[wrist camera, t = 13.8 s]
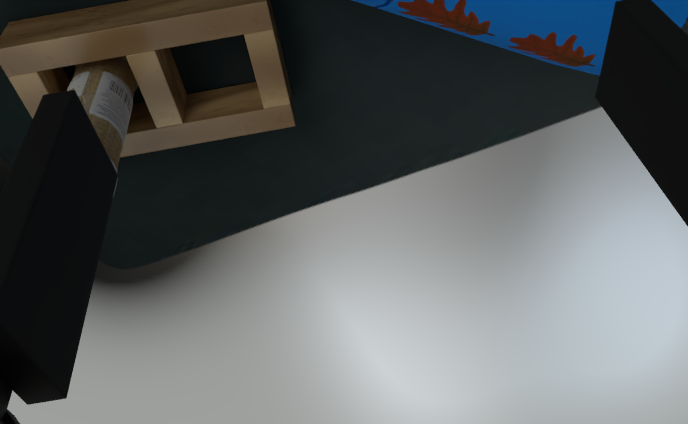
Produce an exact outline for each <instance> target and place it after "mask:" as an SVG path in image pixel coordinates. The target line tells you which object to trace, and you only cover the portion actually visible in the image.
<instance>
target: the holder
mask: <svg viewBox="0 0 688 424" xmlns="http://www.w3.org/2000/svg"><path fill="white" fill-rule="evenodd" d="M243 34H244V37H245V41H246V45H247V48H248V52H249V56H250V59H251V63H252V67H253V71H254V74H255V78H256V82H253V83H247V84H242V85H236V86H231V87H225V88H219V89H214V90H208V91H203V92H197V93H192V94H187V93H186V90H185V88H184V85H183V82H182V80H181V77H180V74H179V71H178V69H177V66H176V63H175V61H174V58H173V55H172V52H171V50H170V48H171V47H176V46H182V45H187V44H193V43H199V42H204V41H210V40H215V39H221V38H226V37H232V36H237V35H243ZM121 56H126V58H127V60H128V63H129V65H130V67H131V70H132V72H133V74H134V77H135V79H136V81H137V84H138V86H139V88H140V91H141V93H142V95H143V98H144V100H145V102H141V103H136V104H133V106H132V111H131V116H130V120H129V125H128V129H127V133H126V138H125V142H124V146H123V150H122V153H121V155H120V157H126V156H131V155H137V154H142V153H148V152H153V151H159V150H165V149H170V148H176V147H181V146H187V145H193V144H198V143H204V142H209V141H215V140H221V139H226V138H232V137H237V136H243V135H248V134H254V133H260V132H265V131H271V130H276V129H282V128H288V127H293V126H295V116H294V106H293V97H292V92H291V88H290V83H289V79H288V75H287V70H286V66H285V61H284V57H283V52H282V48H281V44H280V39H279V35H278V30H277V26H276V21H275V17H274V12H273V8H272V4H271V0H129V1H123V2H118V3H112V4H107V5H101V6H95V7H90V8H84V9H79V10H73V11H68V12H62V13H57V14H51V15H46V16H40V17H35V18H29V19H24V20H18V21H12V22H9V23H8V25H7V26H6V28H5V29H4V31H3V33H2V34H1V36H0V65H1V67H2V69H3V70H4V72H5V74H6V75H7V77H8V78H9V80H10V81H11V83H12V85H13V86H14V88H15V90H16V91H17V93H18V95H19V97H20V98H21V100H22V102H23V103H24V105H25V107H26V108H27V110H28V112H29V113H30V115H31V117H32V118H34V115H35V113H36V111H37V108H38V106H39V103H40V101H41V99H42V96H43V95H46V94H52V93H58V92H64V91H67V89H68V87H69V84H70V81H69V79H68V77H67V75H66V73H65V71H64V69H63V67H65V66H71V65H76V64H82V63H87V62H93V61H99V60H104V59H110V58H115V57H121Z"/></svg>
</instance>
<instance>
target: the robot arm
mask: <svg viewBox="0 0 688 424" xmlns="http://www.w3.org/2000/svg"><path fill="white" fill-rule="evenodd" d="M595 98H596V99H597V101H598V102H599V103H600V105H601V106H602V107H603V109H604V110H605V111H606V113H607V114H608V116H609V117H610V118H611V120H612V121H613V123H614V124H615V126H616V127H617V128H618V130H619V131H620V133H621V134H622V135H623V137H624V138H625V139H626V141H627V142H628V143H629V145H630V146H631V148H632V149H633V151H634V152H635V153H636V155H637V156H638V158H639V159H640V160H641V162H642V163H643V165H644V166H645V167H646V169H647V170H648V172H649V173H650V174H651V176H652V177H653V178H654V180H655V181H656V183H657V184H658V186H659V187H660V188H661V190H662V191H663V192H664V194H665V195H666V197H667V198H668V199H669V201H670V202H671V204H672V205H673V206H674V208H675V209H676V211H677V212H678V213H679V215H680V216H681V218H682V219H683V220H684V222H685V223H686V225H687V226H688V35H687V34H686V33H685V32H684V31H683V30H682V29H681V28H680V27H679V26H678V25H677V24H676V23H675V22H673V21H672V20H671V19H670V18H669V17H668V16H667V15H666V14H665V13H664V12H663V11H662V10H661V9H660V8H659V7H658V6H657V5H656V4H655V3H654V2H653V1H652V0H622V1H616V2H615V7H614V11H613V16H612V21H611V25H610V30H609V35H608V40H607V44H606V49H605V54H604V58H603V63H602V68H601V73H600V77H599V82H598V87H597V91H596V96H595ZM117 178H118V174H117V172H116V170H115V168H114V166H113V164H112V162H111V160H110V158H109V156H108V154H107V152H106V150H105V148H104V146H103V144H102V142H101V141H100V139H99V137H98V135H97V133H96V131H95V129H94V127H93V125H92V123H91V121H90V119H89V117H88V115H87V113H86V111H85V109H84V107H83V105H82V103H81V101H80V99H79V97H78V95H77V93H76V91H75V90H70V91H64V92H58V93H52V94H46V95H43V96H42V99H41V101H40V103H39V106H38V108H37V111H36V113H35V115H34V118H33V120H32V122H31V125H30V127H29V129H28V132H27V134H26V136H25V139H24V141H23V143H22V146H21V148H20V150H19V153H18V155H17V157H16V160H15V162H14V164H13V167H12V169H11V171H10V174H9V176H8V179H7V181H6V183H5V186H4V188H3V190H2V193H1V195H0V424H20V423H19V422H18V421H17V419H16V417H15V416H14V415H13V414H12V413H11V412H10V411H9V410H7V406H8V403H9V400H10V397H11V393H12V390H13V391H14V392H15V393H16V394H17V395H18V396H19V397H20V398H21V399H22V400H23V401H24V402H25V403H26V404H34V403H40V402H46V401H53V400H58V399H65V398H66V397H67V393H68V389H69V384H70V380H71V376H72V371H73V367H74V363H75V359H76V354H77V350H78V346H79V341H80V337H81V333H82V328H83V324H84V320H85V315H86V311H87V307H88V303H89V298H90V294H91V290H92V285H93V281H94V277H95V272H96V268H97V264H98V259H99V255H100V251H101V247H102V242H103V238H104V234H105V229H106V225H107V221H108V216H109V212H110V208H111V203H112V199H113V195H114V190H115V186H116V182H117Z"/></svg>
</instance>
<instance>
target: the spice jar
mask: <svg viewBox="0 0 688 424" xmlns="http://www.w3.org/2000/svg"><path fill="white" fill-rule="evenodd" d="M137 87H138V84H137V81H136V79H135V77H134V74H133V72H132V70H131V67H130V65H129V63H128V60H127V58H126V56H121V57H115V58H110V59H104V60H99V61H93V62H87V63H82V64H76V66H75V73H74V76H73V79H72V81H71V82H70V84H69V87H68V89H67V91H70V90H75V91H76V93H77V95H78V97H79V99H80V101H81V103H82V105H83V107H84V109H85V111H86V113H87V115H88V117H89V119H90V121H91V123H92V125H93V127H94V129H95V131H96V133H97V135H98V137H99V139H100V141H101V142H102V144H103V146H104V148H105V150H106V152H107V154H108V156H109V158H110V160H111V162H112V164H113V166H114V168H115V170H116V172H117V167H118V162H119V158H120V155H121V153H122V150H123V146H124V142H125V138H126V133H127V129H128V125H129V120H130V116H131V111H132V106H133V97H134V92H135V91H136V90H137ZM117 180H118V178H117ZM116 184H117V182H116ZM115 189H116V186H115ZM114 192H115V190H114ZM113 196H114V195H113Z"/></svg>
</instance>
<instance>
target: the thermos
mask: <svg viewBox="0 0 688 424" xmlns="http://www.w3.org/2000/svg"><path fill="white" fill-rule="evenodd" d="M353 1H356V2H359V3H362V4H365V5H368V6H372V7H374V6H376V8H378V9H381V10H384V11H387V12H390V13H394V14H397V15H400V16H403V17H406V18H409V19H413V20H416V21H419V22H422V23H425V24H428V25H431V26H435V27H438V28H441V29H444V30H447V31H450V32H453V33H457V34H460V35H463V36H466V37H469V38H472V39H475V40H479V41H482V42H485V43H488V44H491V45H494V46H498V47H501V48H504V49H507V50H510V51H513V52H516V53H520V54H523V55H526V56H529V57H532V58H535V59H538V60H542V61H545V62H548V63H551V64H554V65H558V66H562V67H566V68H570V69H575V70H579V71H583V72H587V73H591V74H595V75H599V76H600V73H601V68H602V63H603V58H604V54H605V49H606V44H607V40H608V35H609V30H610V25H611V21H612V16H613V11H614V7H615V2H616V1H622V0H353ZM652 1H653V2H654V3H655V4H656V5H657V6H658V7H659V8H660V9H661V10H662V11H663V12H664V13H665V14H666V15H667V16H668V17H669V18H670V19H671V20H672V21H673V22H675V23H676V24H677V25H678V26H679V27H680V28H681V27H682V26H683V25H684V23H685V21H686V19H687V17H688V0H652Z"/></svg>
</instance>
